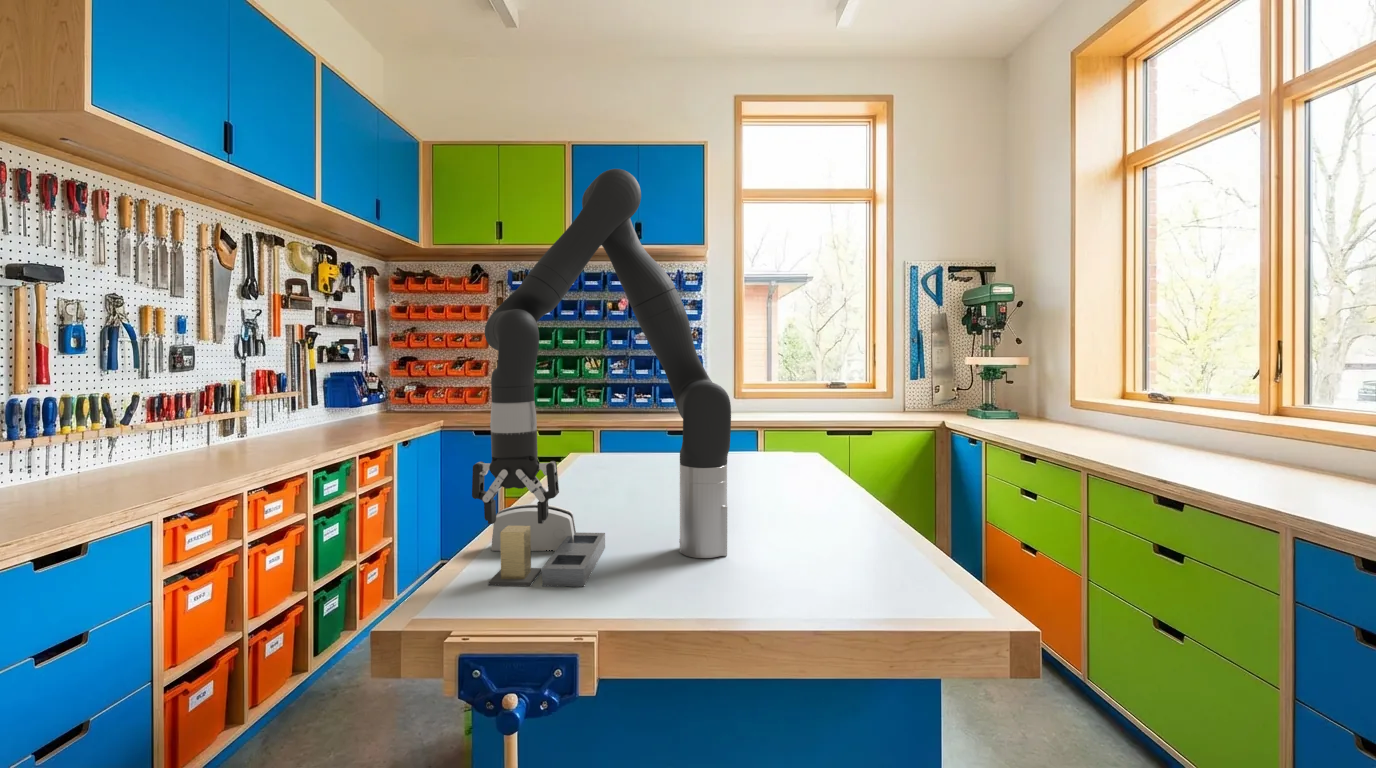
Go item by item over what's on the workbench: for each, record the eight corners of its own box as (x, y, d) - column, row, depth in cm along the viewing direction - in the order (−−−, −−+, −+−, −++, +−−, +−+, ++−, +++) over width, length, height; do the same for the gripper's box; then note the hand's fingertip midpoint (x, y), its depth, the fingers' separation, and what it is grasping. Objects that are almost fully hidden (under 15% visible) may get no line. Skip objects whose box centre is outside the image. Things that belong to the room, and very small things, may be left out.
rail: (605, 547, 126) (605, 532, 126) (583, 586, 105) (583, 569, 105) (570, 547, 127) (570, 532, 126) (542, 586, 106) (541, 568, 105)
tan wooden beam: (530, 570, 111) (530, 525, 111) (524, 579, 107) (524, 532, 107) (508, 570, 111) (507, 525, 111) (501, 578, 107) (500, 532, 107)
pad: (541, 571, 113) (541, 568, 113) (530, 586, 106) (530, 582, 106) (502, 570, 113) (502, 567, 113) (488, 585, 106) (488, 581, 106)
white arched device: (579, 547, 129) (578, 500, 127) (576, 558, 125) (575, 510, 123) (496, 546, 129) (494, 500, 127) (490, 557, 124) (487, 509, 122)
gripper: (560, 425, 111) (563, 516, 112) (480, 426, 112) (483, 517, 113) (550, 430, 104) (552, 528, 105) (464, 431, 104) (467, 529, 105)
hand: (516, 522), depth 109 cm, fingers open, 8 cm apart
